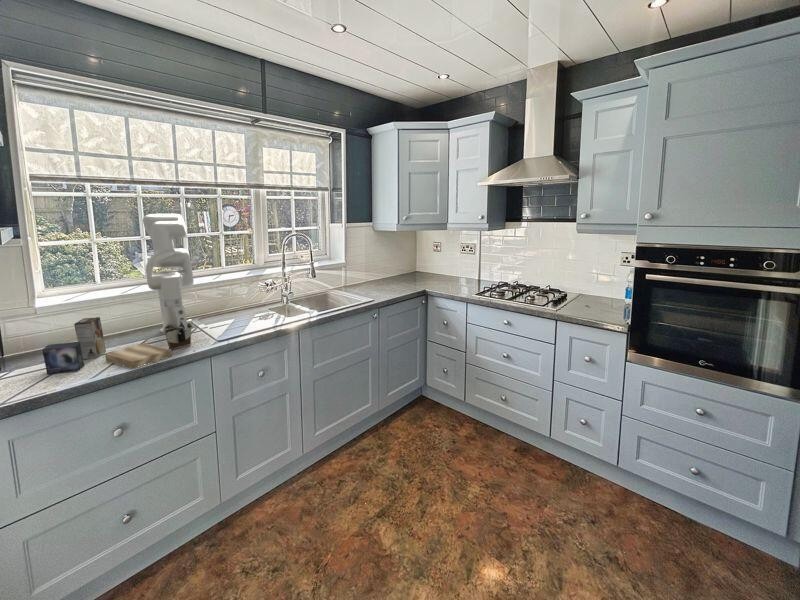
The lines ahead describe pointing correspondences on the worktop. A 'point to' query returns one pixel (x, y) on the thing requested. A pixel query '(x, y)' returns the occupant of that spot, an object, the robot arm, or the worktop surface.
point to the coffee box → (90, 337)
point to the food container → (173, 337)
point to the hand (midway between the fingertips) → (177, 340)
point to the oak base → (138, 355)
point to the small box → (63, 357)
